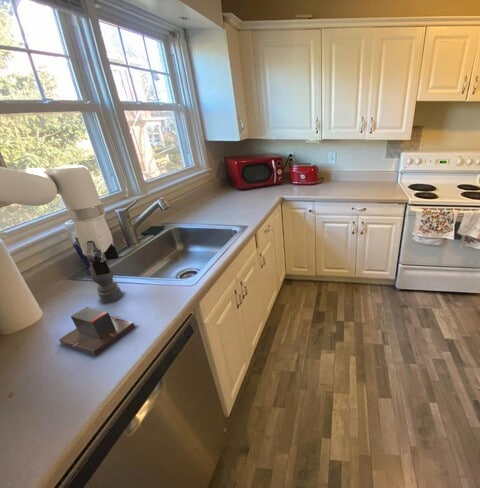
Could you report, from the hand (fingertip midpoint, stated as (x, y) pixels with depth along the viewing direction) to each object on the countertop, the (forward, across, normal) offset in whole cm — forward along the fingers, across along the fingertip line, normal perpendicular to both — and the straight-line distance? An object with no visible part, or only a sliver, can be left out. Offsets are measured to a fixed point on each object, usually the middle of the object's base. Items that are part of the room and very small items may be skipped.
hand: (108, 266), depth 84 cm
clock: (+16, +8, -6) cm, 19 cm away
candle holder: (+19, -13, -8) cm, 24 cm away
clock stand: (+18, +8, -6) cm, 21 cm away
